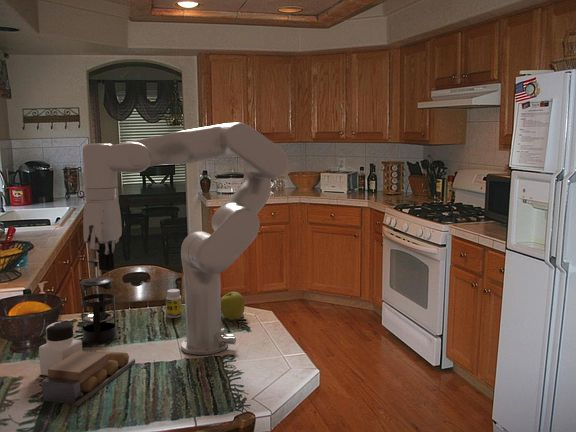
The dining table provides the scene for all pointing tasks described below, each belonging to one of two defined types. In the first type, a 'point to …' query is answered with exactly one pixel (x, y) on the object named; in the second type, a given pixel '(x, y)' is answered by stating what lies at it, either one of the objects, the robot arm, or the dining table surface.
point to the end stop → (61, 390)
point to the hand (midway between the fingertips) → (106, 269)
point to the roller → (88, 384)
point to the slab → (79, 366)
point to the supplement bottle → (173, 303)
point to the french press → (98, 311)
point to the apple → (232, 305)
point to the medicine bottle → (57, 345)
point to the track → (106, 372)
